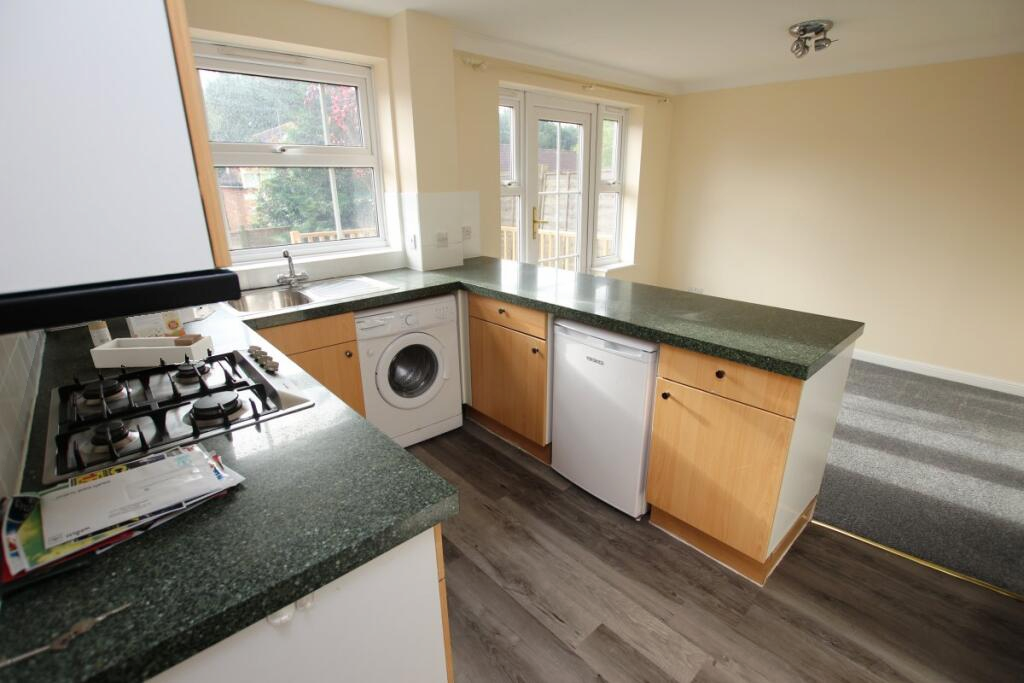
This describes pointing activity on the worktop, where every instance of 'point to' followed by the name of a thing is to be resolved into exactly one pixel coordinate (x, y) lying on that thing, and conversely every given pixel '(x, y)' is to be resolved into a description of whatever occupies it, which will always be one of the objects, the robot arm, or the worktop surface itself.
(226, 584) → the worktop surface
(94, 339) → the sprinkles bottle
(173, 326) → the cracker box
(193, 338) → the walnut block
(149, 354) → the channel
